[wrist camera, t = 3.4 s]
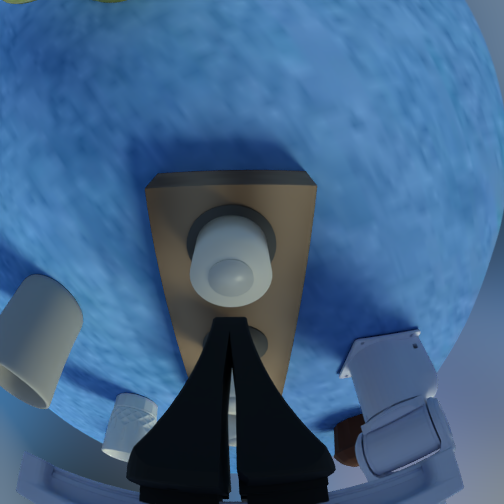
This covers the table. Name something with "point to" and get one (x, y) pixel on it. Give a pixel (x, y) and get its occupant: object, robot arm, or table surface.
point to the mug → (37, 339)
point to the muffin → (347, 440)
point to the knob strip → (278, 242)
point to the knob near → (231, 262)
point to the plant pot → (26, 0)
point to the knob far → (232, 429)
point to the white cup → (128, 424)
